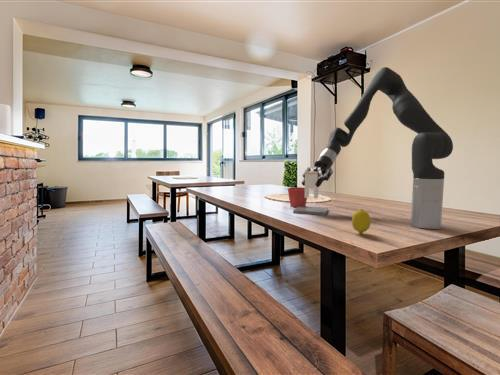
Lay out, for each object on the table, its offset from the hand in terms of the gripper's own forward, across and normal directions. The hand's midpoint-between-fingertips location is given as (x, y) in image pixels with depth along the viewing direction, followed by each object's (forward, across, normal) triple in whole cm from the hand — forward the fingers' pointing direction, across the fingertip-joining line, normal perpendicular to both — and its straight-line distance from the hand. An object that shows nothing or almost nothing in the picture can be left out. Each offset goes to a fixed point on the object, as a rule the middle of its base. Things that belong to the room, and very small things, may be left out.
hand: (309, 185), depth 128 cm
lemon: (+22, +37, -5) cm, 43 cm away
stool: (+3, 0, +5) cm, 6 cm away
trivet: (+8, 0, +10) cm, 12 cm away
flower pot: (+3, -15, +15) cm, 21 cm away
